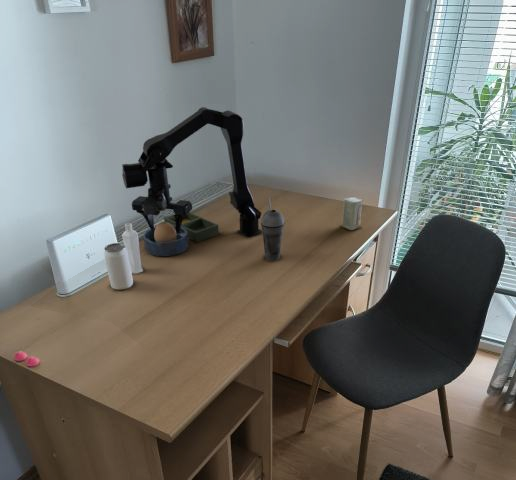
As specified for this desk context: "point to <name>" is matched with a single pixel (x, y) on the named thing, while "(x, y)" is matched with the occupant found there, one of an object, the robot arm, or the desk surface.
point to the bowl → (166, 243)
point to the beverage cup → (272, 233)
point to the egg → (165, 232)
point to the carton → (196, 226)
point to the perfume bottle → (132, 248)
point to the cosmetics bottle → (352, 213)
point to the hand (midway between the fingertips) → (165, 231)
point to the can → (118, 266)
